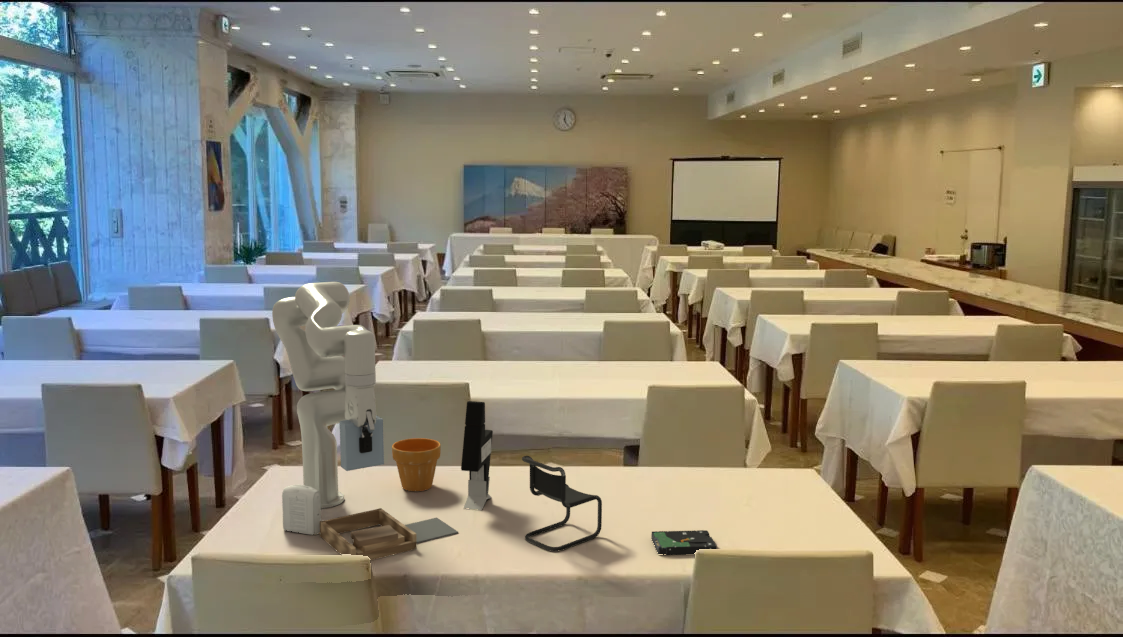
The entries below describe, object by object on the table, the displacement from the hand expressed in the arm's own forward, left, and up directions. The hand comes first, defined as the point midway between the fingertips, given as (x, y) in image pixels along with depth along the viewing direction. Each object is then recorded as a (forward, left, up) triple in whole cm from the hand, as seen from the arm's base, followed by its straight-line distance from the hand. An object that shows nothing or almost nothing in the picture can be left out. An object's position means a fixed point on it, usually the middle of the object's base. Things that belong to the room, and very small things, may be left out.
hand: (362, 449), depth 237 cm
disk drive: (+51, +64, -24) cm, 85 cm away
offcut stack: (+10, -1, -23) cm, 25 cm away
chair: (+29, +42, -23) cm, 56 cm away
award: (-4, +36, -23) cm, 43 cm away
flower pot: (-26, +28, -23) cm, 45 cm away
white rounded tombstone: (-12, -12, -23) cm, 29 cm away
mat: (+6, +15, -23) cm, 28 cm away
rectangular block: (0, 0, -4) cm, 4 cm away
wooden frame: (+5, -1, -23) cm, 24 cm away
